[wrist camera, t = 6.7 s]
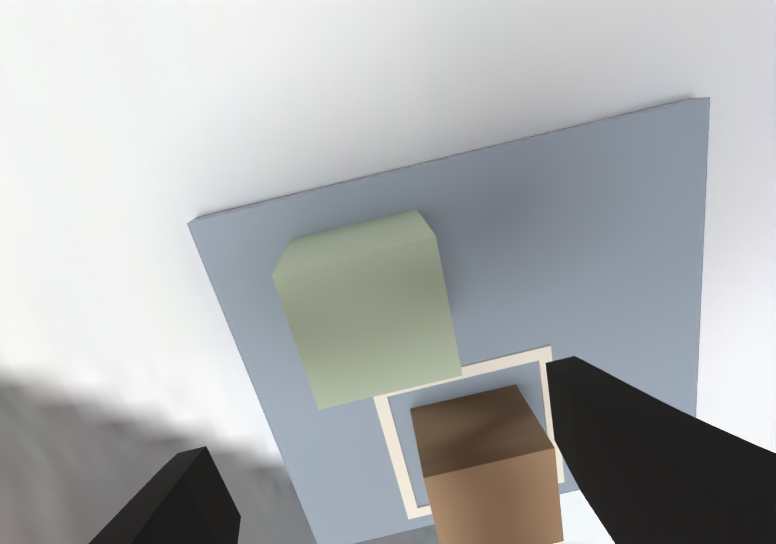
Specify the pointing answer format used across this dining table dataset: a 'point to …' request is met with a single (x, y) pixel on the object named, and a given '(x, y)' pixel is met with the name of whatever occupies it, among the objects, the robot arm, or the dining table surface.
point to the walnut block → (488, 470)
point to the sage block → (368, 308)
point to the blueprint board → (485, 294)
